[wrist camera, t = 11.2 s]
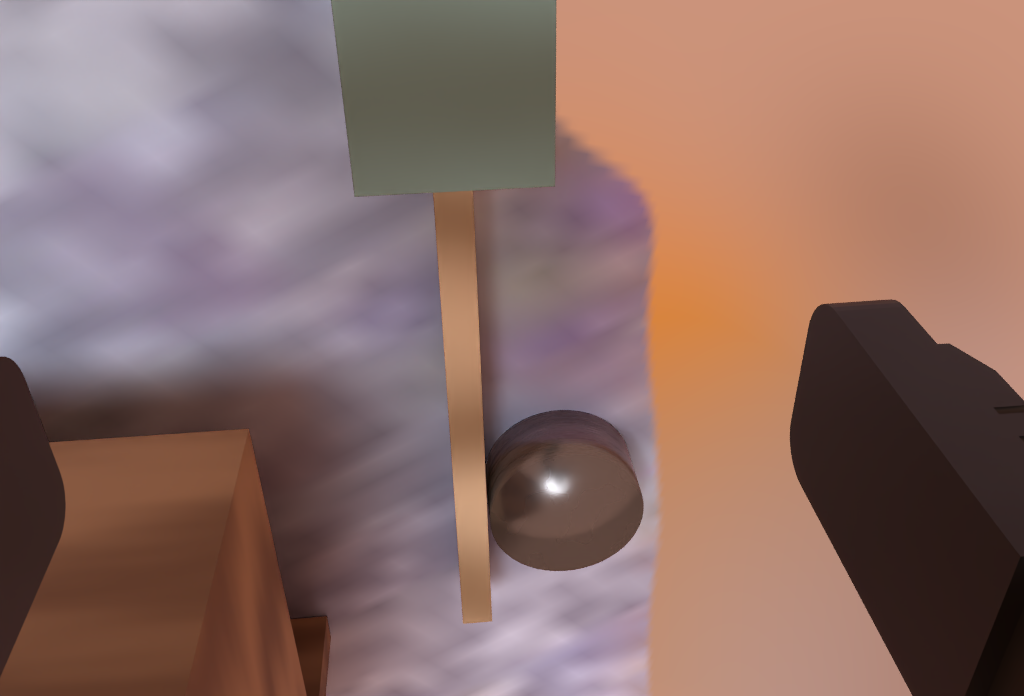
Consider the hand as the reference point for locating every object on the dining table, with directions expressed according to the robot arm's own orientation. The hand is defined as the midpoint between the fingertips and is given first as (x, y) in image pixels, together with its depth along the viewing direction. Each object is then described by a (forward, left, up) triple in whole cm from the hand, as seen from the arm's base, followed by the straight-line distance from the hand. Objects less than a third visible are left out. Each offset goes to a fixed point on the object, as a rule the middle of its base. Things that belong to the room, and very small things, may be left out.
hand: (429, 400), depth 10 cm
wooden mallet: (+9, +1, -16) cm, 19 cm away
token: (+15, +4, -17) cm, 23 cm away
